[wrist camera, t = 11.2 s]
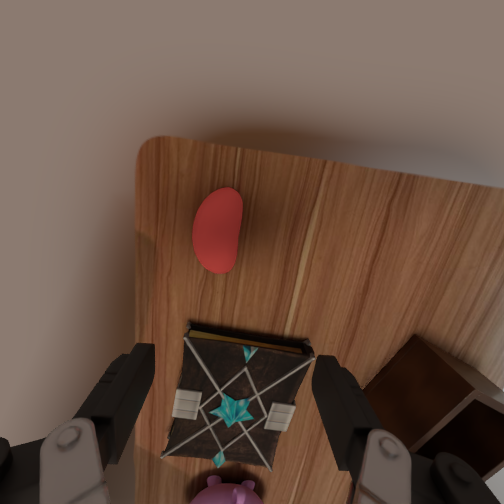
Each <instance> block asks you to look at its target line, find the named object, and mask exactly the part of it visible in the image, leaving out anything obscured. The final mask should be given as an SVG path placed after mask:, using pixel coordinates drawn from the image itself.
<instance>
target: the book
mask: <svg viewBox="0 0 504 504" xmlns="http://www.w3.org/2000/svg"><path fill="white" fill-rule="evenodd" d="M186 327H187V328H188V329H189V334H188V332H187V333H185V334H184V337H183V339H184V353H183V367H182V374H181V377H180V380H179V384H178V387H177V391H176V396H175V402H174V407H173V413H172V417H175V420H174V423H173V426H172V428H171V431H170V432H169V434H168V437H167V438H168V439H169V441H168V444H167V447H166V449H165V451H162V453H161V456H160V458H164V457H165V456H181V457H195V458H204V459H212V460H213V462H214V463H215V465H216V466H217V468H219V467H220V466H221V465H222V464H223V463H224V462H225V461H229V462H238V463H243V464H249V465H254V466H260V467H265V468H268V469H269V471H270V472H272V465H273V461H274V456H275V451H276V447H277V442H278V438H279V435H280V433H281V431H287V428H288V426H289V423H290V421H291V418H292V415H293V413H294V410H295V408H296V404H295V400H294V399H295V396H296V394H297V391H298V389H299V387H300V385H301V383H302V381H303V379H304V376H305V374H306V372H307V370H308V368H309V366H310V364H311V362H312V361H313V360H315V359H316V358H315V356H314V351H313V349H312V347H311V346H310V345H311V343H310V341H309V339H307V340H305V341H304V342H300V341H292V340H285V339H277V338H269V337H263V336H257V335H251V334H245V333H239V332H233V331H227V330H222V329H216V328H211V327H206V326H201V325H195V324H192V323H191V322H188V323H187V326H186Z"/></svg>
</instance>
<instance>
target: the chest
mask: <svg viewBox="0 0 504 504" xmlns="http://www.w3.org/2000/svg"><path fill="white" fill-rule="evenodd" d="M363 393H364V394H365V397H366V398H367V400H368V401H369V403H370V405H371V407H372V408H373V410H374V412H375V414H376V415H377V417H378V419H379V421H380V422H381V424H382V426H383V428H384V429H385V431H388V432H390V433H391V434H393V435H394V436H396V437H397V438H398V439H399V440H400V441H401V442H402V443H403V444H404V446H405V447H406V448H407V450H408V451H410V452H413V453H415V454H418V455H421V456H423V457H426V458H429V459H432V460H434V459H435V457H436V455H437V454H438V453H440V452H447V453H450V454H453V455H455V456H457V457H459V458H460V459H462V460H463V461H465V462H466V463H467V464H469V465H470V466H471V467H472V468H473V469H474V470H475V471H476V472H477V473H478V475H479V476H480V477H481V478H482V480H483V481H484V482H485V481H486V480H488V479H489V478H490V477H492V476H493V475H494V474H495V473H497V472H498V471H499V470H501V469H502V468H503V467H504V392H503V391H502V390H501V389H500V388H499V387H497V386H496V385H495V384H494V383H492V382H491V381H490V380H489V379H488V378H486V377H485V376H484V375H482V374H481V373H480V372H479V371H478V370H476V369H475V368H473V367H471V366H470V365H468V364H466V363H464V362H463V361H461V360H459V359H457V358H456V357H454V356H452V355H450V354H449V353H447V352H445V351H443V350H442V349H440V348H438V347H436V346H435V345H433V344H431V343H429V342H428V341H426V340H424V339H422V338H421V337H419V336H417V335H414V336H413V337H412V338H411V339H410V340H409V341H408V342H407V343H406V344H405V346H404V347H403V348H402V349H401V350H400V351H399V352H398V353H397V354H396V355H395V356H394V357H393V359H392V360H391V361H390V362H389V363H388V364H387V365H386V366H385V367H384V368H383V369H382V370H381V371H380V373H379V374H378V375H377V376H376V377H375V378H374V379H373V380H372V381H371V382H370V383H369V384H368V385H367V387H366V388H365V389H364V390H363Z"/></svg>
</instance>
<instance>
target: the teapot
mask: <svg viewBox="0 0 504 504" xmlns="http://www.w3.org/2000/svg"><path fill="white" fill-rule="evenodd" d="M207 483H208V487H207V488H205V489H204V490H202V491H201V492H199V493H198V494H197V495H196V497H195V498H194V499H193V500H192V501H191V502H190V504H264V503H263V502H262V501H261V499H260V498H259V497H258V495H257V494H256V493H255V492H254V491H253V489H254V486H255V483H254V482H253V481H251V480H246V481H243V482H242V483H241V485H239V484H232V483H224V484H222V480H221V478H220V477H219V476H216V475H213V476H210V477H208V479H207Z"/></svg>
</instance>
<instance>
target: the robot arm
mask: <svg viewBox="0 0 504 504" xmlns="http://www.w3.org/2000/svg"><path fill="white" fill-rule="evenodd" d="M154 374H155V345H154V344H150V343H137V344H136V345H135V346H134V348H133V350H132V351H131V353H130V354H122V355H120V356H119V357H118V358H117V359H115V360H114V361H113V362H112V363H111V364H110V366H109V367H108V368H107V370H106V371H105V374H104V375H103V376H102V377H101V379H100V380H99V383H97V384H96V386H95V387H94V389H93V390H92V391H91V393H90V394H89V396H88V397H87V399H86V400H85V402H84V403H83V404H82V406H81V407H80V409H79V410H78V412H77V413H76V414H75V416H74V417H73V418H72V419H71V420H69V421H67V422H65V423H63V424H61V425H59V426H58V427H57V428H55V429H54V430H53V431H52V432H51V433H50V434H49V435H48V436H47V437H46V438H43V439H40V440H36V441H33V442H29V443H25V444H21V445H17V446H13V447H10V444H9V442H8V440H6V439H5V438H2V437H0V504H111V503H110V498H109V493H108V488H107V484H106V481H105V478H104V470H105V468H106V466H107V464H118V462H119V459H120V457H121V455H122V452H123V450H124V448H125V445H126V443H127V440H128V438H129V436H130V434H131V431H132V429H133V427H134V424H135V422H136V420H137V417H138V415H139V413H140V410H141V408H142V406H143V403H144V401H145V399H146V396H147V394H148V392H149V389H150V387H151V385H152V382H153V379H154ZM312 391H313V395H314V398H315V401H316V404H317V407H318V410H319V413H320V416H321V419H322V421H323V424H324V427H325V430H326V433H327V436H328V439H329V442H330V445H331V448H332V451H333V454H334V457H335V460H336V463H337V466H338V469H339V471H349V472H350V475H351V477H352V481H351V484H350V488H349V492H348V497H347V501H346V504H501V503H500V502H499V501H498V500H497V498H496V497H495V496H494V494H493V493H492V492H491V490H490V489H489V488H488V486H487V485H486V484H485V482H484V481H483V480H482V478H481V477H480V476H479V475H478V473H477V472H476V471H475V470H474V469H473V468H472V467H471V466H470V465H469V464H467V463H466V462H465V461H463V460H462V459H460V458H459V457H457V456H455V455H453V454H450V453H447V452H440V453H438V454H437V455H436V457H435V459H434V460H432V459H429V458H426V457H423V456H421V455H418V454H415V453H413V452H410V451H408V450H407V448H406V447H405V446H404V444H403V443H402V442H401V441H400V440H399V439H398V438H397V437H396V436H394V435H393V434H391V433H390V432H388V431H385V429H384V428H383V426H382V424H381V422H380V421H379V419H378V417H377V415H376V414H375V412H374V410H373V408H372V407H371V405H370V403H369V401H368V400H367V398H366V397H365V394H364V393H363V391H362V389H361V388H360V386H359V384H358V382H357V380H356V379H355V377H354V376H353V375H352V374H351V373H350V372H349V371H348V370H347V369H346V368H343V367H340V365H339V363H338V361H337V359H336V357H335V356H330V355H318V357H317V360H316V364H315V368H314V372H313V376H312Z"/></svg>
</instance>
